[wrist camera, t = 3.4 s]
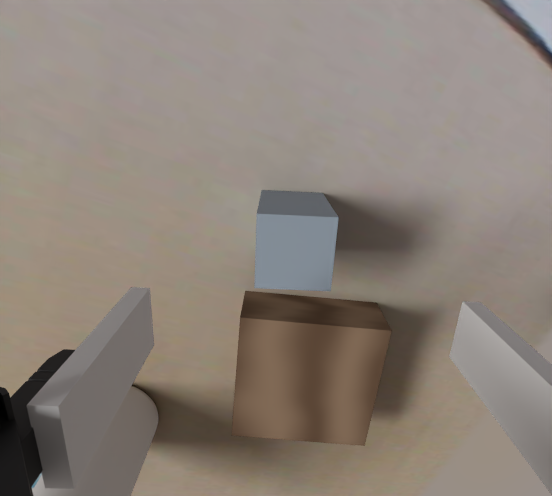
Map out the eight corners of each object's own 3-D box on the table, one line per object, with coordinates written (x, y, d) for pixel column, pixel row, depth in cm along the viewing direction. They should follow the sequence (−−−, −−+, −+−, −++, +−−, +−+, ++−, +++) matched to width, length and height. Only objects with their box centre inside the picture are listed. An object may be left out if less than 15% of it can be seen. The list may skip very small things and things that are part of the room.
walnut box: (237, 395, 37) (231, 435, 32) (245, 289, 33) (240, 317, 28) (353, 404, 37) (364, 445, 32) (375, 300, 33) (391, 330, 28)
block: (259, 247, 31) (254, 288, 24) (261, 190, 29) (256, 213, 22) (317, 250, 31) (330, 291, 24) (322, 192, 30) (338, 217, 22)
